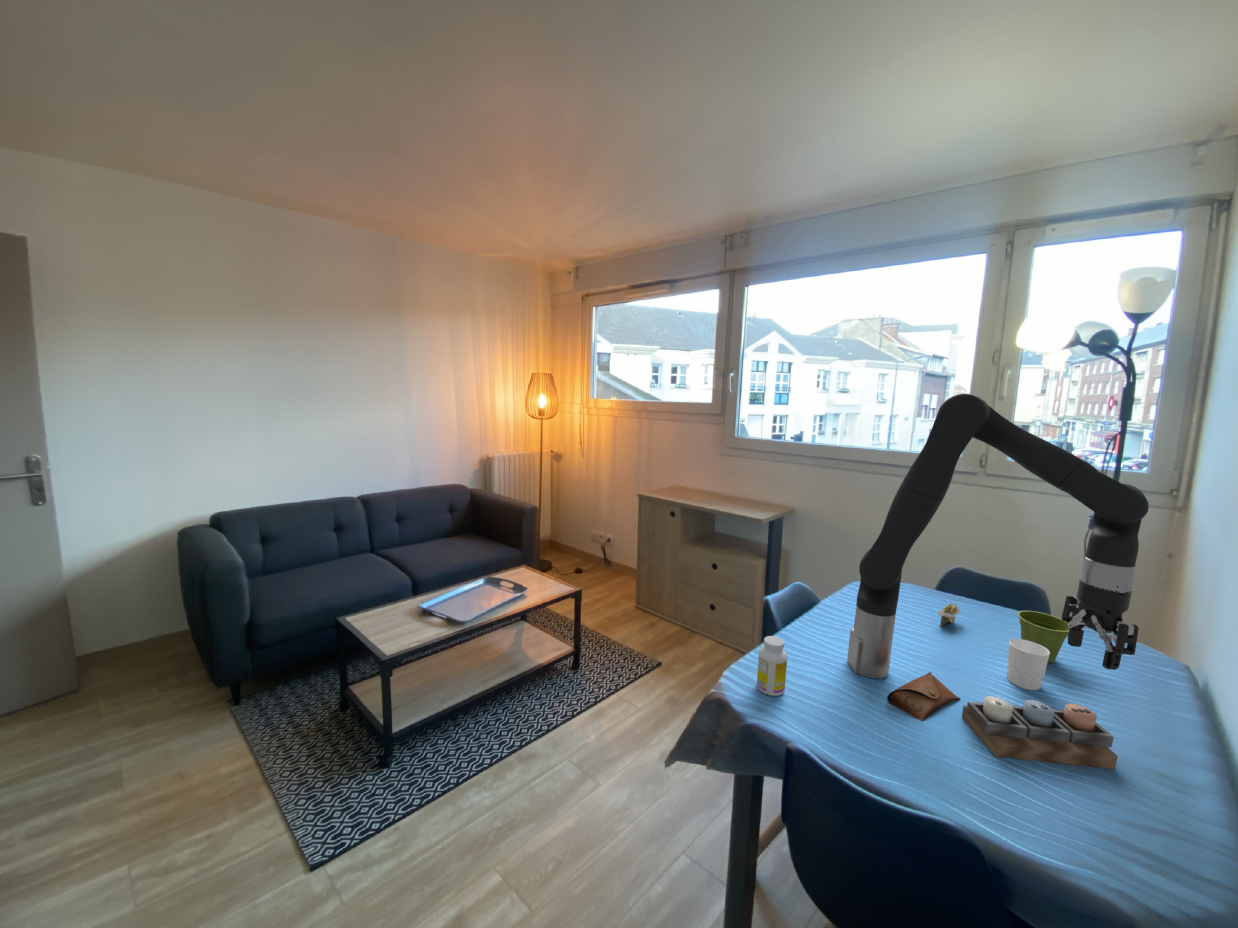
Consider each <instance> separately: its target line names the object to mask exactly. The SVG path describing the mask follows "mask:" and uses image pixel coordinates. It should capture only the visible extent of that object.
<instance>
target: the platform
mask: <svg viewBox="0 0 1238 928" xmlns="http://www.w3.org/2000/svg"><path fill="white" fill-rule="evenodd" d="M960 613H961V609H960V608H959V607H958V604H956V603H952V602H950V603H949V604H948V605H946V606H945V607H944V608H942V609H940V610H939V611H937V615H938V616H941V617H940V628H941V627H943V626H944V625H945V624H947V623H949V622H950V623H951V624H955V619H956V616H957V615H959V614H960Z"/></svg>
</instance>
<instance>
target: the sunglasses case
mask: <svg viewBox="0 0 1238 928" xmlns="http://www.w3.org/2000/svg"><path fill="white" fill-rule="evenodd" d="M886 699H887V703H888V704H890V705H892V706H893V707H895V708H896V709H898V710H900V711H902V712H903V713H905V714H908V715H910V716H911V717H913V718H915V719H917V720H919V721H920V722H923V721H925V720H926V719H927V718H928V717H930V716H931V715H932V714H933V713H936V712H937V711H938V710H940V709H942V708H943V707H946V706H947V705H949V704H951V703H953V702H956V701H959V700H960V699H961V698H960V697H958V696H957V695H955V693H953V691H951V690H950V689H949V688H948V687H947V686H946V685H944V684H943V683H942V682H941V681H940V680H939V679H938V678H937V677H935V675H933V674H932V671H929V672H928V673H926V674H924V675H920V676H919V677H917V678H914V679H913V680H911V681H909V682H907V683H905V684H903V685H901V686H899V687H898V688H896V689H894V690H893V691H891V692H889V693H888V694H887V698H886Z"/></svg>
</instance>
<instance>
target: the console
mask: <svg viewBox="0 0 1238 928" xmlns="http://www.w3.org/2000/svg"><path fill="white" fill-rule="evenodd" d="M983 704H984V702H975V701H967V705H966V704H965V705H964V704H963V706H962V707H963V708H962V711H961V712H962V713H961V718H962V720H964V722H965V723H966V724H967V725H968V726H969V727H970V729H971V730H972V731H973V732H974V734H976V735H977V737H978V738H979V739H980V740H981V741H982V743H983V744H984V745H985V746H986V747H987V748H988V749H989V751H990V752H991V753H992V755H993V756H995V757H996V758H997V757H998V758H1007V759H1015V760H1016V759H1017V760H1025V761H1034V762H1035V761H1036V762H1045V763H1053V764H1064V765H1075V766H1082V767H1083V766H1084V767H1093V768H1101V769H1110V770H1111V769H1112V770H1115V769H1116V765H1117V760H1118V757H1119V755H1118V754H1116V753H1115V752H1114V751H1113V750H1112V749H1111V748H1112V747H1113V743H1114V737H1115V736H1113V735H1112V734H1111V733H1110V732H1109V731H1108V730H1106V729H1105V728H1104V727H1103V726H1101V725H1100V724H1098V723H1097V722H1096V723H1095V728H1094V731H1093V732H1086V731H1081V730H1078V729H1076V728H1073V727H1071V726H1070V725H1068V724H1067V723H1066V722H1065V721H1064V720H1063V715H1064V710H1065V709H1063V710H1062V709H1061V710H1060V709H1053V710H1054V717H1053V723H1052V727H1050V728H1045V727H1039V726H1036V725H1034V724H1032V723H1030V722H1028V721H1027V720H1025V719H1024V718H1023V716H1022V713H1023V708H1024V706H1020V705H1019V706H1018V705H1011V706H1012V707H1013V710H1012V716H1011V721H1010V723H1008V724H1004V723H998V722H995V721H993V720H991V719H989V718H987V717H986V716H985V715H984V714H983V712H982V710H983Z"/></svg>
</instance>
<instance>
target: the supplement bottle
mask: <svg viewBox="0 0 1238 928" xmlns="http://www.w3.org/2000/svg"><path fill="white" fill-rule="evenodd" d="M787 665H788V654H787V652H786V651H785V641H784V640H783V639H782V638H781V637H778V636H774V635H768V636H765V637H764V638H763V646H761V647H760V649H759V651H758V664H757V675H756V676H757V678H756V686H757V688H758V690H759V691H760V692H761V691H762V692H761V693H763V694H765V695H767V694H768V696H770V697H777V696H781V695H782V694H784V693H785V690H786V679H787V667H788V666H787Z"/></svg>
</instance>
